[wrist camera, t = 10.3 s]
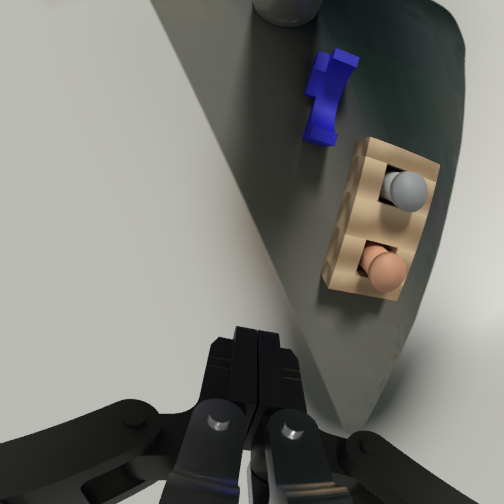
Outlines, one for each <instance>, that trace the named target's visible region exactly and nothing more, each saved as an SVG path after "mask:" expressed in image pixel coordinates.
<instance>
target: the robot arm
mask: <svg viewBox="0 0 504 504" xmlns="http://www.w3.org/2000/svg"><path fill="white" fill-rule="evenodd" d="M322 2H323V0H253V5H254V8H255V10H256V12H257V13H258V14H259V15H260V16H261V17H262V18H263V19H264V20H266V21H267V22H270V23H272V24H274V25H278V26H283V27H296V26H301V25H304V24H306V23H308V22H310V21H311V20H312V19H313V18H314V17H315V16H316V14H317V12H318V10H319V8H320V6H321V4H322ZM299 371H300V369H299V363H298V359H297V357H296V356H295V355H294V353H293V352H292V351H291V349H285V348H280V340H279V334H278V333H273V332H267V331H261V330H258V331H257V330H255V329H250V328H245V327H239V326H236V329H235V333H234V337H233V340H232V339H226V338H222V337H218V338H217V339H216V340H215V341H214V342H213V343H212V344H211V347H210V351H209V356H208V361H207V365H206V369H205V374H204V378H203V383H202V388H201V392H200V397H199V400H198V402H197V403H196V405H195V406H194V407H192V408H191V409H190V410H188V411H185V412H182V413H176V414H159V413H158V411H157V410H156V409H155V408H154V407H153V406H151V405H150V404H148V403H146V402H144V401H141V400H136V399H125V400H121V401H118V402H116V403H113V404H111V405H108V406H106V407H104V408H101V409H98V410H96V411H93V412H91V413H88V414H86V415H83V416H81V417H78V418H76V419H73V420H70V421H68V422H65V423H62V424H59V425H57V426H53V427H51V428H48V429H45V430H42V431H39V432H36V433H33V434H30V435H27V436H24V437H20V438H17V439H14V440H11V441H7V442H4V443H0V504H116V503H118V502H120V501H122V500H124V499H126V498H128V497H130V496H132V495H134V494H136V493H138V492H139V491H141V490H143V489H145V488H147V487H148V486H150V485H152V484H154V483H155V482H157V481H158V480H167V481H166V484H165V487H164V490H163V493H162V496H161V499H160V501H159V504H238V503H239V495H240V488H239V486H238V479H239V472H240V466H241V459H242V452H243V450H249V451H251V461H250V463H249V465H248V468H247V482H248V495H249V496H248V497H249V504H478V503H477V502H475V501H474V500H472V499H470V498H469V497H467V496H466V495H464V494H462V493H461V492H459V491H458V490H456V489H455V488H453V487H452V486H450V485H449V484H447V483H446V482H444V481H443V480H441V479H440V478H438V477H437V476H435V475H434V474H432V473H431V472H430V471H428V470H427V469H425V468H424V467H422V466H421V465H420V464H418V463H417V462H415V461H414V460H412V459H411V458H410V457H408V456H407V455H406V454H404V453H403V452H402V451H400V450H399V449H397V448H396V447H395V446H393V445H392V444H391V443H389V442H388V441H387V440H385V439H384V438H383V437H381V436H380V435H378V434H376V433H374V432H371V431H358V432H355V433H353V434H352V435H351V436H350V437H349V438H348V439H346V438H342V437H338V436H335V435H332V434H328V433H326V432H324V431H321V430H320V429H319V428H318V425H317V423H316V422H315V420H314V419H313V418H312V417H311V416H309V415H308V414H307V410H306V405H305V398H304V392H303V387H302V381H301V374H300V372H299ZM369 490H370V491H369ZM378 497H379V498H378ZM382 500H383V501H382Z"/></svg>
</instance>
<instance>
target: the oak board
mask: <svg viewBox="0 0 504 504" xmlns="http://www.w3.org/2000/svg"><path fill="white" fill-rule="evenodd" d="M386 166H387V167H390V168H392V169H395V170H398V171H401V172H403V171H411V172H416V173H418V174H420V175H421V176H422V177H423V178H424V180H425V181H426V184H427V187H428V196H427V200H426V202H425V204H424V206H423V207H422V208H421V209H419V210H418V211H416V212H411V213H410V212H405V211H403V210H401V209H399V208H397V207H396V206H395V205H393V204H389V203H386V202H383V201H380V200H378V198H379V194H380V190H381V187H382V183H383V179H384V175H385V171H386ZM439 168H440V165H439V164H437V163H435V162H433V161H430V160H428V159H426V158H423V157H421V156H419V155H416V154H414V153H411V152H409V151H407V150H404V149H402V148H399V147H396V146H394V145H391V144H389V143H386V142H383V141H380V140H378V139H375V138H372V137H364V138H357V141H356V146H355V150H354V154H353V158H352V163H351V167H350V171H349V175H348V179H347V183H346V187H345V191H344V195H343V198H342V202H341V206H340V210H339V213H338V217H337V221H336V224H335V228H334V231H333V235H332V238H331V242H330V245H329V248H328V252H327V255H326V258H325V262H324V265H323V268H322V271H321V275H322V277H323V279H324V281H325V283H326V285H327V287H328V289H333V290H339V291H344V292H350V293H355V294H361V295H366V296H372V297H377V298H383V299H389V300H394V301H397V299H398V297H399V295H400V292H401V290H402V287H403V285H404V282H405V280H406V277H407V274H408V272H409V269H410V266H411V264H412V261H413V258H414V255H415V252H416V249H417V246H418V243H419V240H420V237H421V234H422V231H423V228H424V225H425V221H426V218H427V215H428V211H429V208H430V204H431V200H432V197H433V193H434V189H435V185H436V181H437V177H438V173H439ZM366 240H370V241H374V242H378V243H382V245H381V246H382V247H383V248H385V249H386V250H387V251H388V252H393V253H395V254H397V255H398V256H399V257H400V258H402V259H403V261H404V262H405V265H406V276H405V279H404V281H403V282H402V284H401V285H400V286H399V287H398V288H396V289H395V290H393V291H390V292H380V291H378V290H377V289H376V288H375V287H374V286H373V285H372V284H371V282H370V281H369V278H368V274H367V272H366V271H365V270H364V269H363V268H362V267H361V265H358V264H359V261H360V258H361V255H362V252H363V249H364V245H365V242H366Z"/></svg>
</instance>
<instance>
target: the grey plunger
mask: <svg viewBox="0 0 504 504" xmlns="http://www.w3.org/2000/svg"><path fill="white" fill-rule="evenodd" d="M427 196H428V187H427V184H426V181H425V180H424V178H423V177H422V176H421V175H420V174H418V173H416V172H411V171H403V172H394V171H389V170H386V171H385V175H384V179H383V183H382V187H381V190H380V194H379V197H381V198H384V199H386V200H388V201H391V202H393V203H394V205H395V206H396V207H397V208H399V209H401V210H403V211H405V212H410V213H411V212H416V211H418V210H419V209H421V208H422V207H423V206H424V204H425V202H426V200H427Z"/></svg>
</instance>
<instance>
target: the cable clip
mask: <svg viewBox="0 0 504 504" xmlns="http://www.w3.org/2000/svg"><path fill="white" fill-rule="evenodd" d="M358 60H359V57H357V56H355V55H352V54H350V53H347V52H345V51H342V50H339V49H337V48H336V49H335V50H334V51H333V52H332V54H331V55H328V54H325V53H322V52H318V53H317V55H316V57H315V59H314V62H313V65H312V69H311V72H310V75H309V79H308V82H307V85H306V89H305V92H304V95H305V96H308V97H311V98H314V102H313V105H312V108H311V112H310V115H309V118H308V122H307V125H306V128H305V132H304V135H303V138H302V140H305V141H308V142H311V143H314V144H317V145H320V146H323V147H327V146H335V142H336V139H337V136H338V134H337V133H335V131H334V121H335V115H336V111H337V107H338V103H339V100H340V97H341V94H342V92H343V89H344V87H345V84H346V82H347V80H348V78H349V77H350V75H351V73H352V72H353V71H354V70H355V68H357V64H358Z"/></svg>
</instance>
